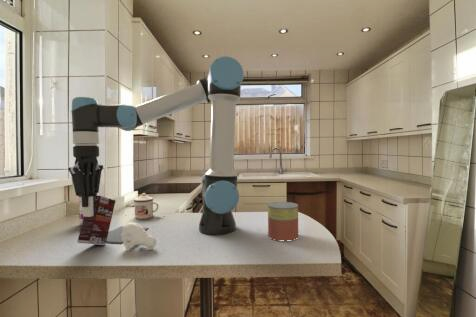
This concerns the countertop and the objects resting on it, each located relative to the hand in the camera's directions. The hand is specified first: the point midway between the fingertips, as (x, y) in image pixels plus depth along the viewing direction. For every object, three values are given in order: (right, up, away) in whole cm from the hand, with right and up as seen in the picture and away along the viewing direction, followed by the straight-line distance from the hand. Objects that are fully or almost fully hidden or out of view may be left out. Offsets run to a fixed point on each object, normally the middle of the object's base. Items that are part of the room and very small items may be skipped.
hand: (88, 216), depth 89 cm
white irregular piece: (+17, -11, +1) cm, 21 cm away
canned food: (+67, -10, +11) cm, 68 cm away
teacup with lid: (+4, -10, +45) cm, 46 cm away
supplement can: (-18, -11, +33) cm, 39 cm away
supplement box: (0, -10, +2) cm, 10 cm away
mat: (+4, -11, +16) cm, 20 cm away
